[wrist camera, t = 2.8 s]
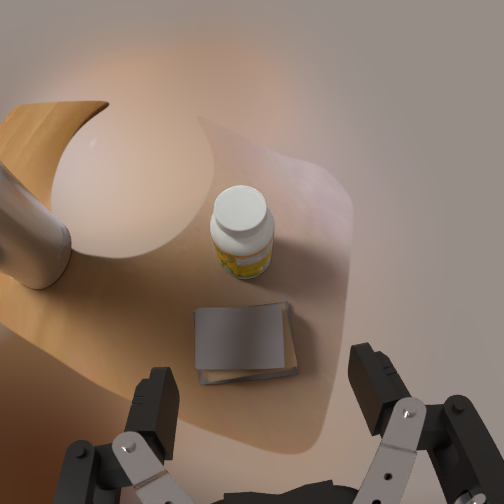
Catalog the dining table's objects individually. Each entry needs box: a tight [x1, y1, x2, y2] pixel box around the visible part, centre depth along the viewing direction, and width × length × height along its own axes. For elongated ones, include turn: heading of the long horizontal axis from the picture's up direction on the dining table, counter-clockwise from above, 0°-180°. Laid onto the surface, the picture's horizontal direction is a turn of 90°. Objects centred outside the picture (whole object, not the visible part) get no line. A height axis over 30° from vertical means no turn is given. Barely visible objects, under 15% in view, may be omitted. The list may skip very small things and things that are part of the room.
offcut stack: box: [194, 302, 298, 385], centre depth 27 cm, size 9×7×4 cm
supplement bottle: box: [210, 185, 274, 279], centre depth 27 cm, size 5×5×10 cm
